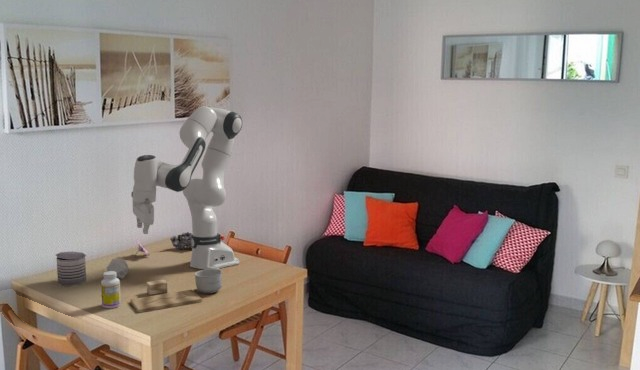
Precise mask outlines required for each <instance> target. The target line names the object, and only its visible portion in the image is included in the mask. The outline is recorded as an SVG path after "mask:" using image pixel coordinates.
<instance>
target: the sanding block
mask: <svg viewBox="0 0 640 370" xmlns="http://www.w3.org/2000/svg"><path fill="white" fill-rule="evenodd" d="M146 293H147V294H148V296H155V295H161V294H167V293H168V282H167V280H165V279H158V280H152V281H146Z"/></svg>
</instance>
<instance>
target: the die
mask: <svg viewBox="0 0 640 370" xmlns="http://www.w3.org/2000/svg"><path fill="white" fill-rule="evenodd" d="M106 270H107V271H115V272H116V273H117V276H116V278H118V279H124V278H125V276H126V275H127V273H128V272H129V271H130V268H129V265H128V264H127V261H126V260H125V258H112V259H111V261H110V263H109V264H108V265H107V266H106ZM107 271H106V272H107Z"/></svg>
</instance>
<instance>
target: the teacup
mask: <svg viewBox="0 0 640 370" xmlns="http://www.w3.org/2000/svg"><path fill="white" fill-rule="evenodd" d="M222 273H223V271H222V270H221V268H216V269H201V270H198V271H195V272H194V276H195V277H194V280H195V287H196V289H197V291H199V292H200V293H202V294H214V293H216V292H217V293H218V291H219V290H220V289H221V288H222V285H223V274H222Z"/></svg>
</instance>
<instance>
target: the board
mask: <svg viewBox="0 0 640 370" xmlns="http://www.w3.org/2000/svg"><path fill="white" fill-rule="evenodd" d="M129 300H130V301H129V302H130V304H131V305H132V306H133V307H134V309H135V310H136V311H137V313H138V314H139V313H145V312H152V311H156V310H162V309H168V308H174V307H180V306H185V305H191V304H197V303H201V302H203V299H202V297H200V296H199V295H198V294H197V293H196V291H194V290H193V289H186V290H180V291H174V292H167V293H164V294H158V295H152V296H150V295H148V296H145V297H139V298H132V299H129Z"/></svg>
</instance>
